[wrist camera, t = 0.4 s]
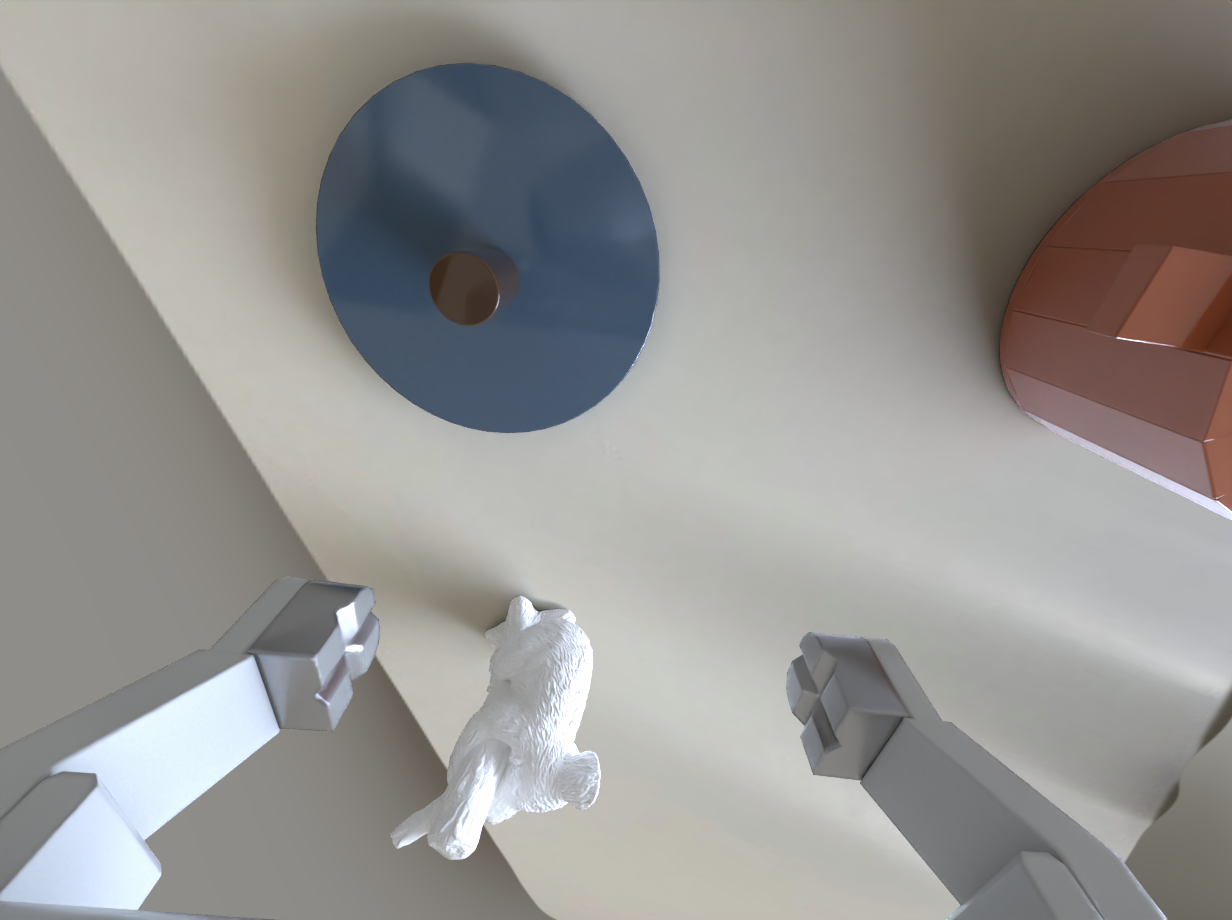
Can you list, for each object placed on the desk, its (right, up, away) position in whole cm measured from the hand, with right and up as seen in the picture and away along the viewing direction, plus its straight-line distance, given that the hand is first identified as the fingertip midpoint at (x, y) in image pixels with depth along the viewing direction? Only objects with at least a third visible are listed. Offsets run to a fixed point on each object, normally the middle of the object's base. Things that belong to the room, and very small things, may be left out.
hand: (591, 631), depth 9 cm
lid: (-5, +11, +10) cm, 16 cm away
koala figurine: (-4, -7, +20) cm, 22 cm away
